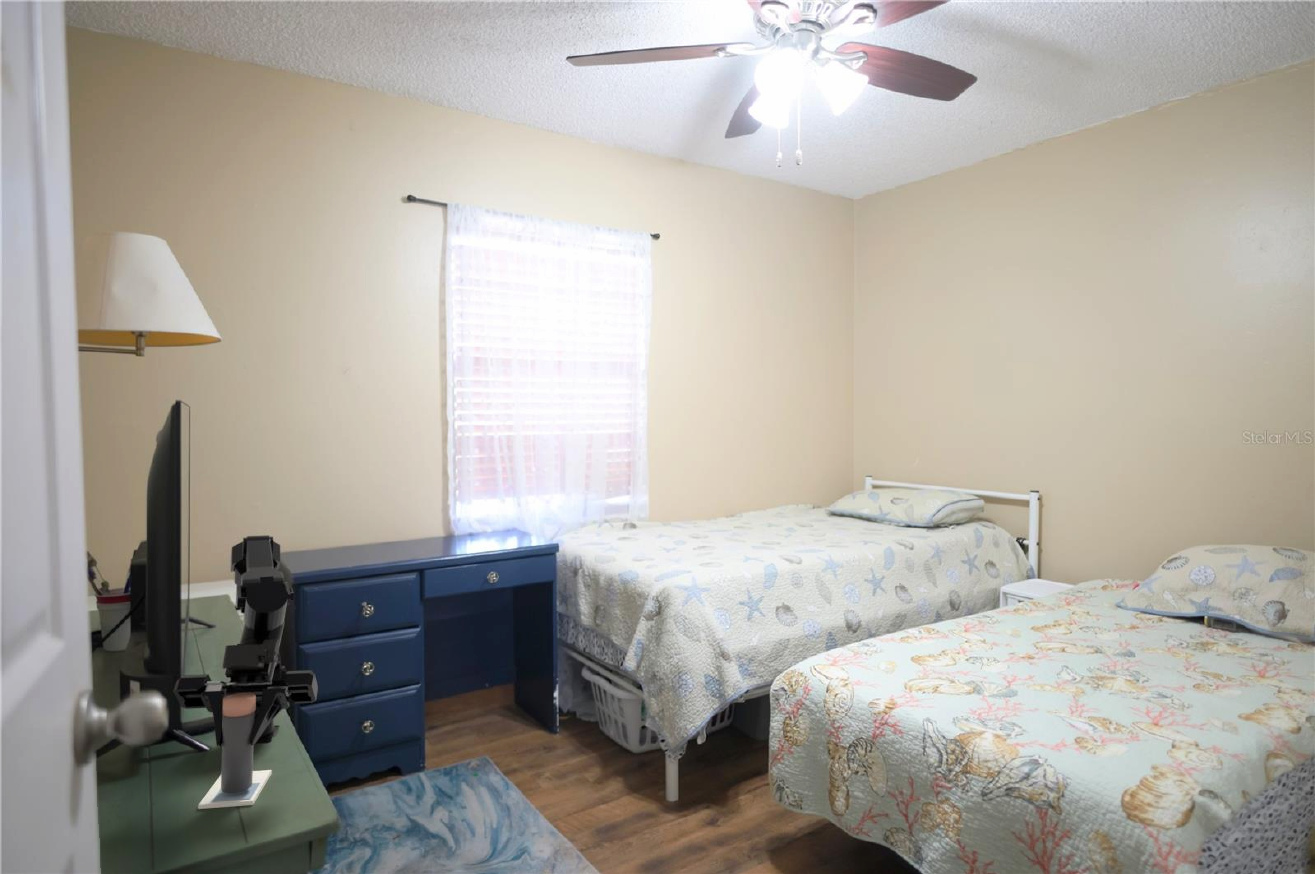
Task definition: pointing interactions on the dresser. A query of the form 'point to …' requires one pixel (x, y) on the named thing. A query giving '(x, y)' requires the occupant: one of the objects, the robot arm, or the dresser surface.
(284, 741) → the dresser surface
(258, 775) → the notepad
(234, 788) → the bottle
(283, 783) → the dresser surface
